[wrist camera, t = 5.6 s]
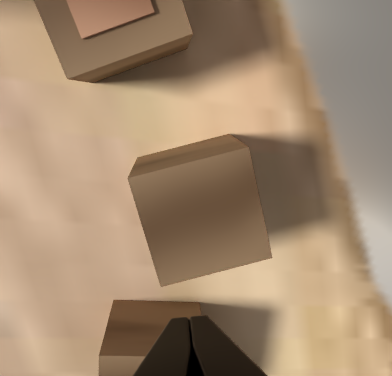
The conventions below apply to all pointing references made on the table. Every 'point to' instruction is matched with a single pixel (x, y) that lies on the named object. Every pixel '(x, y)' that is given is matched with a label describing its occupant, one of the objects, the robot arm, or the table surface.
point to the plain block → (200, 209)
